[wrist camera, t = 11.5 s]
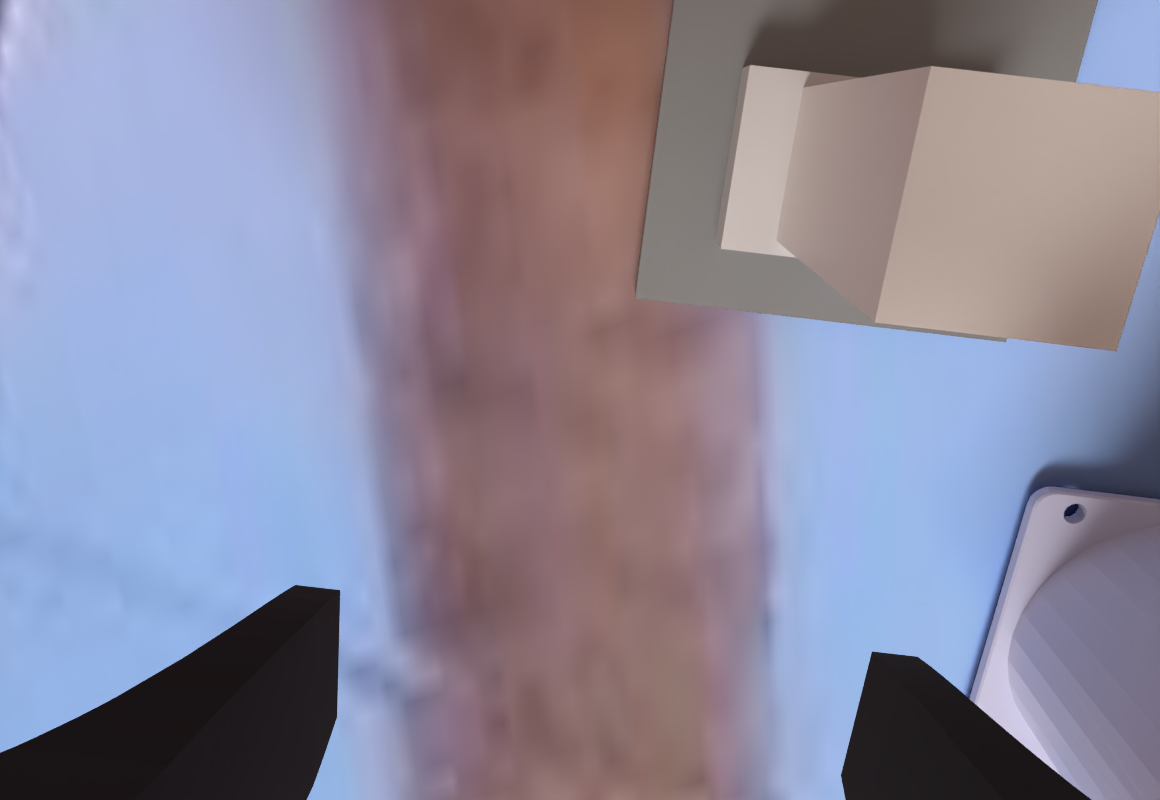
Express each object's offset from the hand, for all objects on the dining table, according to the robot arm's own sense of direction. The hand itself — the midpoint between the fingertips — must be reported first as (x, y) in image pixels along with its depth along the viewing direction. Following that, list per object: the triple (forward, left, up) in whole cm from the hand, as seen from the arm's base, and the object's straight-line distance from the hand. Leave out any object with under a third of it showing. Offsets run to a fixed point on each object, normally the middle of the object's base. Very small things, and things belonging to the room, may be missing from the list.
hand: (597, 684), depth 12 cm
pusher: (-4, -7, -10) cm, 12 cm away
